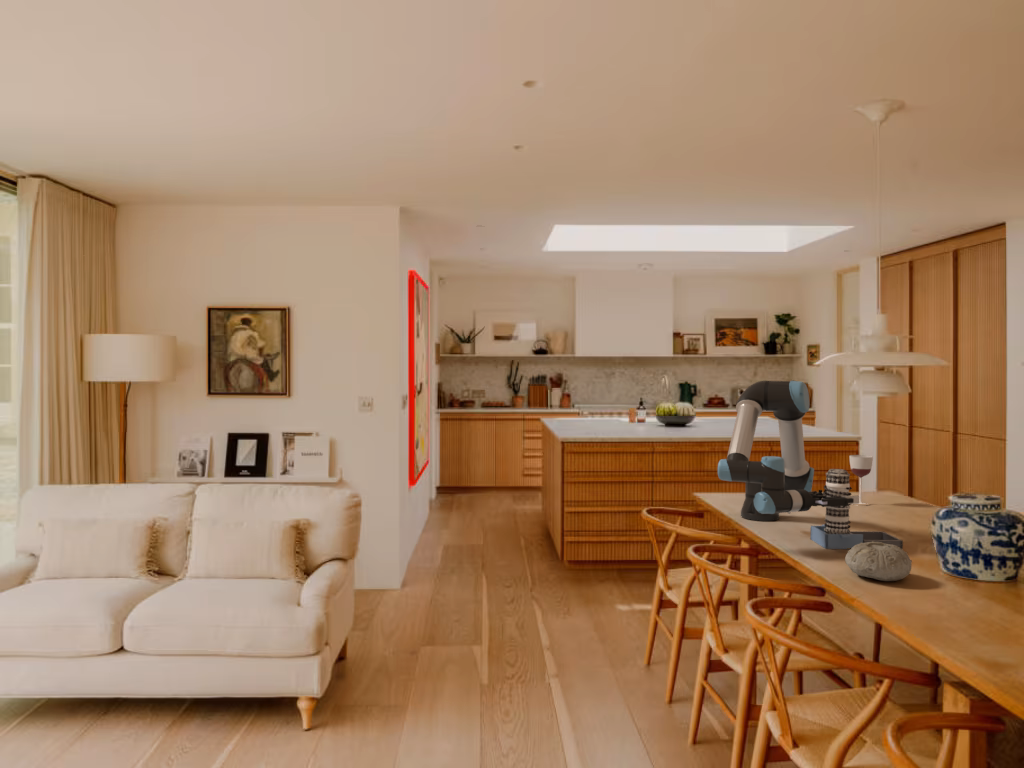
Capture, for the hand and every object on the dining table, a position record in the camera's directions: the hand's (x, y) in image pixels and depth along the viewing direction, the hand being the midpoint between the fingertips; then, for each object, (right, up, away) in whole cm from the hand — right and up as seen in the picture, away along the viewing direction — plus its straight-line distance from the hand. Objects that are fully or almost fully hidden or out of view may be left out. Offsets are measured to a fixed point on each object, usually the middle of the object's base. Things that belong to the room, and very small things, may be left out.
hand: (847, 497), depth 258 cm
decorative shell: (-10, -18, -41) cm, 46 cm away
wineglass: (+39, -15, +72) cm, 83 cm away
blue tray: (-5, -17, -1) cm, 17 cm away
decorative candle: (-4, -15, -1) cm, 16 cm away
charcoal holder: (+8, -17, -1) cm, 19 cm away
